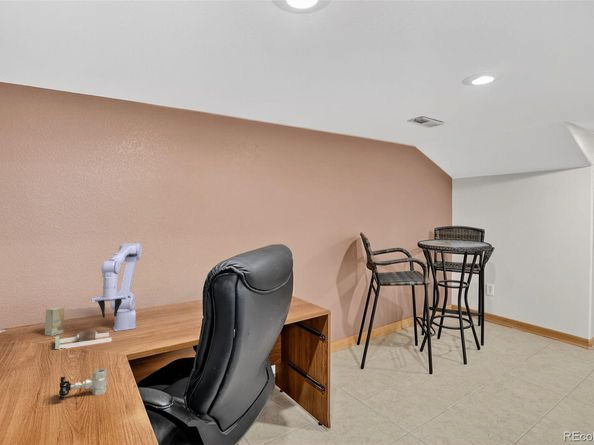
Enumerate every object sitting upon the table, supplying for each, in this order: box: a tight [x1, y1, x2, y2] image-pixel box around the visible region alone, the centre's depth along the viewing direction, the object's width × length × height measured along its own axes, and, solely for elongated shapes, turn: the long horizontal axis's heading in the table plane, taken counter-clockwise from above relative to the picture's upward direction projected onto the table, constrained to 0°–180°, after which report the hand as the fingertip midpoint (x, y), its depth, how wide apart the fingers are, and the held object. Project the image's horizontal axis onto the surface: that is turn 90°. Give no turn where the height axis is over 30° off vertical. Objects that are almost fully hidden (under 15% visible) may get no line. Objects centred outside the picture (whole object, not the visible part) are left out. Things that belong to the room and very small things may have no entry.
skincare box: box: [44, 306, 65, 337], centre depth 160 cm, size 6×4×12 cm
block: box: [78, 329, 96, 342], centre depth 150 cm, size 6×5×4 cm
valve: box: [58, 368, 108, 401], centre depth 102 cm, size 7×7×12 cm
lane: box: [54, 330, 113, 350], centre depth 151 cm, size 20×15×3 cm
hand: (109, 316), depth 155 cm, fingers open, 4 cm apart
